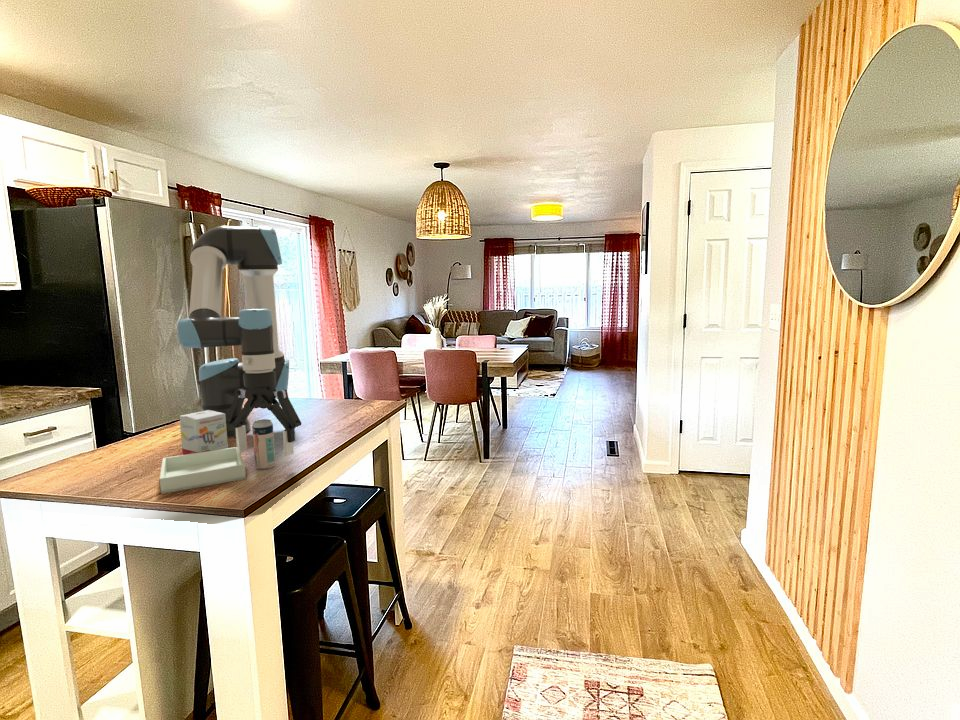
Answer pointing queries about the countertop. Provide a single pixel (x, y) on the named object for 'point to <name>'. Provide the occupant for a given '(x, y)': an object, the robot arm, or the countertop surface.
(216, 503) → the countertop surface
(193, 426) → the ink box
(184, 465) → the bin
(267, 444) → the beer can
